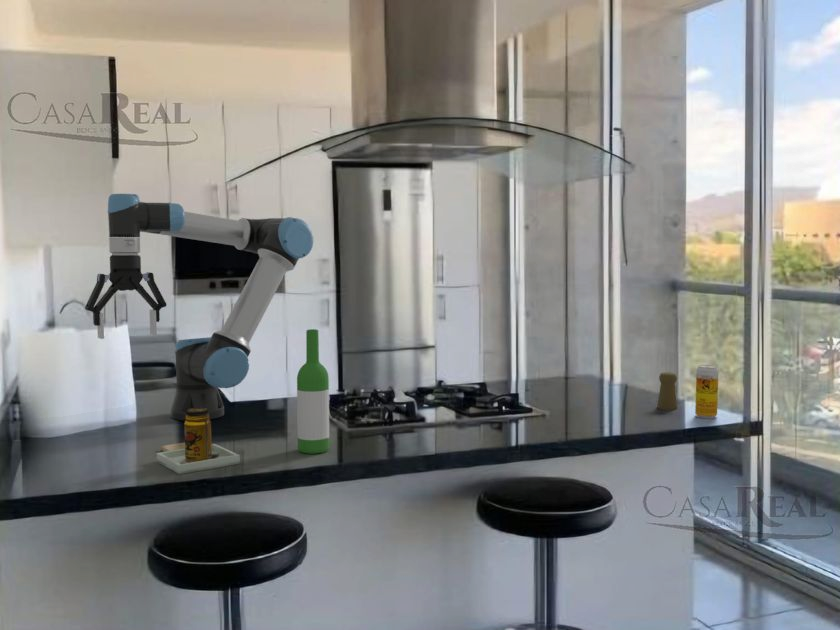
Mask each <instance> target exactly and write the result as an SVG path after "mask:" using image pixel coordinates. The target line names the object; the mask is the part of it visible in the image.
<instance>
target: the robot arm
mask: <svg viewBox="0 0 840 630" xmlns="http://www.w3.org/2000/svg"><path fill="white" fill-rule="evenodd" d="M107 201H108V202H107V216H108V217H107V219H108V233H109V234H108V237H109V238H108V241H109V242H108V243H109V245H108V246H109V247H108V248H109V249H108V250H109V253H110V254H111V255H110V256H109V271H110V272H109V274H105V273H98V274H97V276H96V283H95V286H94V288H93V290H92V292H91V294H90V296H89V298H88V300H87V302H86V304H85V307H84V309H85V310H86V311H88V312H90V313H92V315H93V316H92V322H93V325H94V326H95V327H96V328H97V339H100V340H105V327H104V326H105V325H104V320H105V319H104V313H103V312H101V311H102V310H103V308H104V307H105V306H106V305H107V304H108V303H109V302H110V300H111V299H112V297H113V296H114V295H115V294H116V293H117V292H118V291H120V292H123V291H124V292H125V291H136V292H137V293H138V294H139V295H140V296H141V297H142V298H143V300H145V302H146V303H147V304H148V305H149V306H150V307H151V309H149V335H152V336H157V335H158V334H157V330H158V328H157V323H158V322H160V319H161V317H160V311H161V310H162V308H166V307H167V302H166V301H165V299H164V297H163V295H162V292H161V291H160V289H159V287H158V285H157V283H156V281H155V277H154V273H153V272H146V273H142V271H141V270H142V262H141V261H142V260H141V255H139V253H141V233H147V234H156V235H162V236H170V237H176V238H182V239H188V240H189V239H190V240H196V241H203V242H208V243H215V244H222V245H226V246H227V245H228V246H234V247H235V248H236V250H238V251H239V250H240V251H245V252H251V253H253V254H257V255H258V257H259V259H258V260H257V262H256V264H255V266H254V268H253V270H252V272H251V273H250V276H249V278H248V279H247V281H246V282H245V284H244V286H243V288H242V290H241V292H240V294H239V296H238V298H237V300H236V301H235V303H234V305H233V307H232V310H231V311H230V313H229V314H228V317H227V318H226V321H225V322H224V324H223V326H222V328H221V329H220V330H217V331H214V332H213V333H212V335H211V336H210V337H208V336H207V337H197V338H196V337H195V338H186V339H179V340H177V342H176V343H175V351H174V352H175V353H174V354H175V370H176V372H175V373H176V374H175V375H176V376H175V377H176V392H175V396H174V399H173V401H172V402H173V403H172V405H171V408H170V409H171V410H170V417H171V418H172V419H174V420H178V421H186V411H187V410H188V409H193V408H206V409H208V410H209V419H210V420H213V419H217V418H221V417H223V416H224V415H225V405H224V403H223V400H222V397H221V394H220V392H219V389H230V388H233V387H236V386H238V385H239V384H241V383H242V382H243V381H244V379H246V377H247V375H248V372H249V369H250V364H249V356H250V353H251V351H252V350H251V346H250V342H251V340H252V338H253V336H254V334H255V332H256V330H257V328H258V326H259V325H260V323H261V321H262V318H263V317H264V315H265V313H266V311H267V309H268V307H269V305H270V303H271V301H272V300H273V298H274V297H275V293H276V292H277V290H278V289H279V286H280V285H281V282H282V281H283V279H284V277H285V275H286V273H288V272H290V271H293V270H294V269H295V267H296V265H297V263H298V261H299V259H303V258H304V257H307V256H308V255H309V254H310V253H311V251H312V249H313V246H314V236H313V231H312V229H311V227H310V226H309V224H308V223H307V222H306V221H304V220H303V219H301V218H297V217H296V218H295V217H291V216H290V217H289V216H287V217H282V218H281V217H280V218H279V217H278V218H277V217H272V218H271V217H269V218H259V219H258V218H256V219H254V218H245V217H241V218H239V219H238V220H236V219H232V218H231V219H230V218H225V217H219V216H214V215H208V214H202V213H194V212H190V211H185V209H184V208H183V205H181V204H179V203H175V202H144V201H141V200H140V197H139V195H138V194H136V193H111V194H110V195H109V197H108V200H107ZM108 280H109V281H110V282H111V284H110V286H109V287H108V288H107V290H106V291H105V293H104V294H103V296H101V298H100V299H99V297H100V294H101V292H102V290H103V288H104V286H105V283H107V281H108ZM143 280H144V281H145V282H146V284H147V285H148V287H149V290H150V291H151V293H152V294H153V297H154V298H155V299H154V298H153V297H152V296H151V295H150V294H149V292H148V291H147V290H146V289H145V288H144V286H143V285H142V284H141V281H143ZM97 300H98V301H97Z"/></svg>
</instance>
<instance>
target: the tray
mask: <svg viewBox="0 0 840 630" xmlns="http://www.w3.org/2000/svg"><path fill="white" fill-rule="evenodd" d="M219 453H220V454H219ZM212 454H219V456H218V457H216V458H215V459H209V460H203V461H197V462H191V463H181V462H182V461H183V460H184V459H185V449H179V450H173V451H167V452H164V451H162V452H161V451H160V452H156V462H157V463H158V464H161V465H162V466H163V467H166V468H167V469H169V470H171V471H173V472H174V473H176V474H178V475H184V474H190V473H196V472H200V471H206V470H207V471H208V470H211V469H218V468H224V467H228V466H234V465H240V464H241V460H240V459H241V457H240V456H241V455H240V454H239V453H235V452H234V451H231V450H229V449H227V448H225V447H223V446H221V445H218V444H217V443H212Z"/></svg>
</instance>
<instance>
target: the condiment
mask: <svg viewBox="0 0 840 630" xmlns="http://www.w3.org/2000/svg"><path fill="white" fill-rule="evenodd" d="M183 428H184V430H183V431H184V443H185V459H184V460H183V461H182V462H181V463H191V462H197V461H203V460H209V459H215V458H216V457H218V456H219V454H220V453H219V454H212V444H213V443H212V421H211V419H209V410H208V409H206V408H193V409H188V410H187V411H186V420H184V427H183Z"/></svg>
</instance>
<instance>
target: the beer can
mask: <svg viewBox="0 0 840 630" xmlns="http://www.w3.org/2000/svg"><path fill="white" fill-rule="evenodd" d="M719 372H720V371H719V368H718V366H717V365H712V364H700V365H697V368H696V376H695V378H696V379H695V410H694V413H695V415H696V416H698V417H697V418H700V417H701V419H714V417H715V418H716V416H718V400H719V399H718V397H719V395H718V394H719V392H718V391H719Z"/></svg>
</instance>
